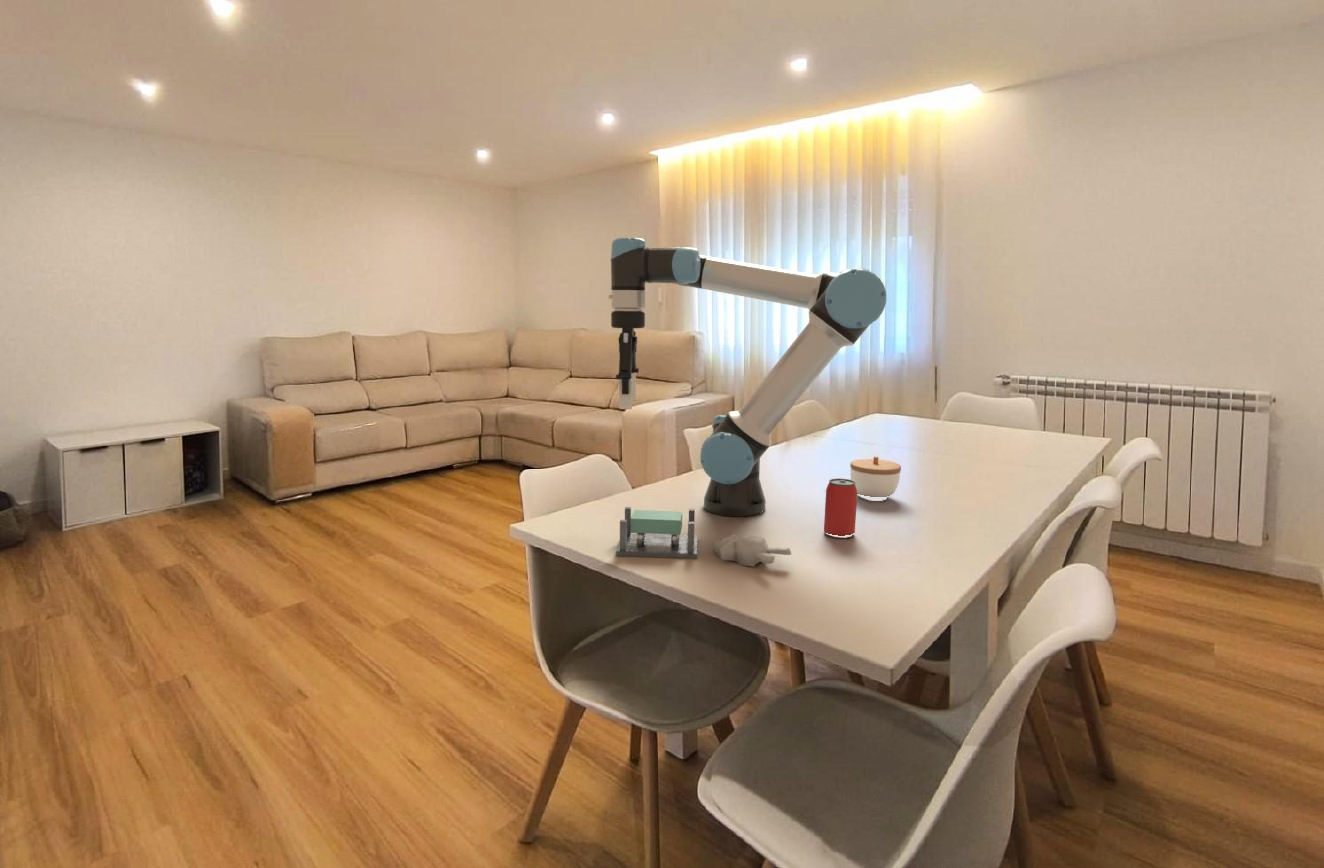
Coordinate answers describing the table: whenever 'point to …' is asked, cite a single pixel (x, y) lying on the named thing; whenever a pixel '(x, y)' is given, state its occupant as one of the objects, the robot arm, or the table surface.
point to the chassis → (657, 542)
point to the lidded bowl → (875, 477)
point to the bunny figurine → (747, 550)
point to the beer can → (840, 507)
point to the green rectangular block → (656, 522)
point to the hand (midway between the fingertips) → (627, 404)
